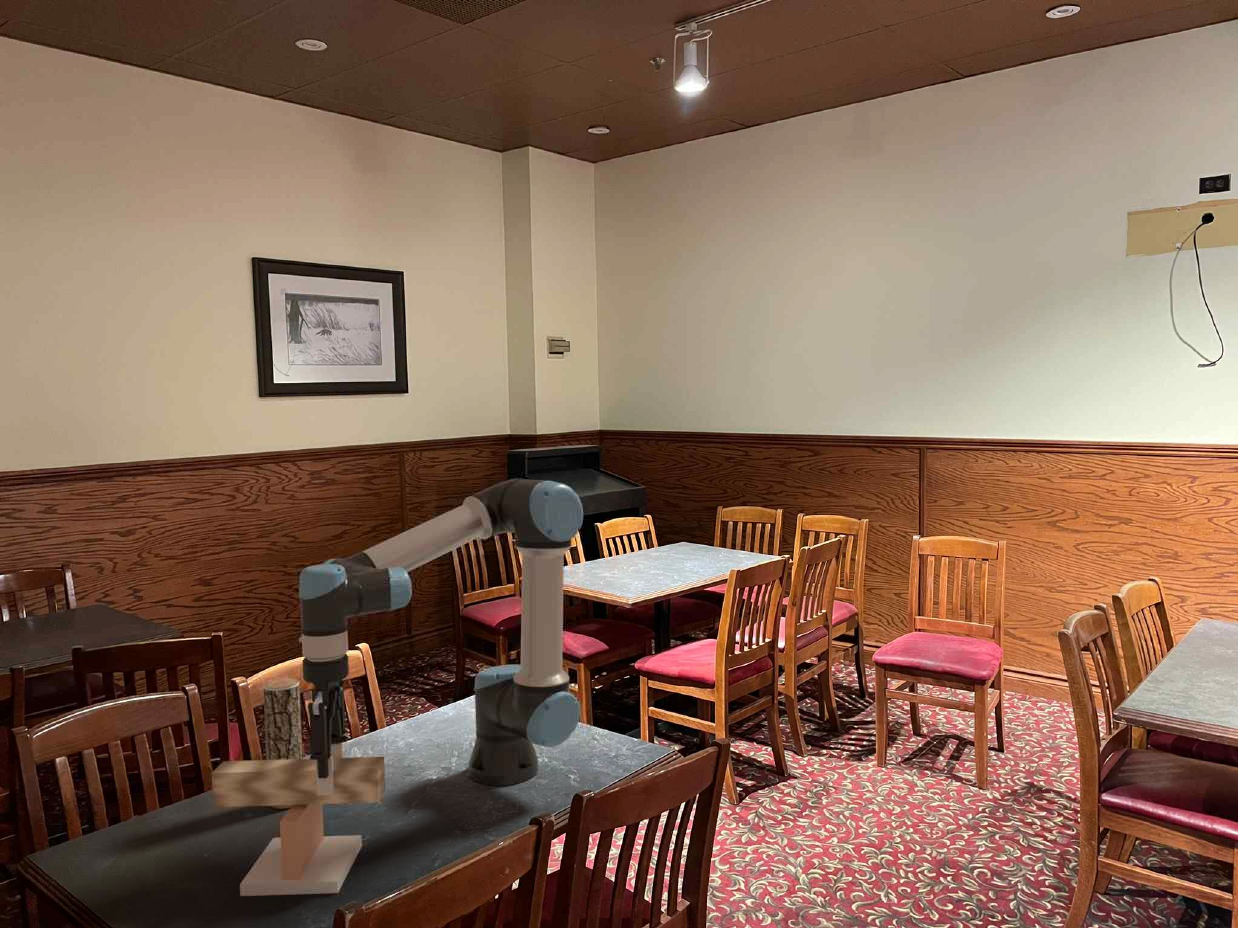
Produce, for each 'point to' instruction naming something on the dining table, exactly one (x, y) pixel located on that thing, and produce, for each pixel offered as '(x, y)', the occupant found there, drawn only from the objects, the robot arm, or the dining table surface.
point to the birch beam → (296, 782)
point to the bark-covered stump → (282, 721)
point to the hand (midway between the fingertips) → (330, 786)
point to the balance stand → (302, 857)
